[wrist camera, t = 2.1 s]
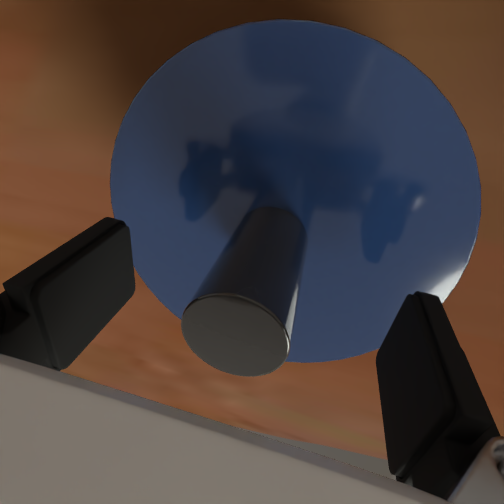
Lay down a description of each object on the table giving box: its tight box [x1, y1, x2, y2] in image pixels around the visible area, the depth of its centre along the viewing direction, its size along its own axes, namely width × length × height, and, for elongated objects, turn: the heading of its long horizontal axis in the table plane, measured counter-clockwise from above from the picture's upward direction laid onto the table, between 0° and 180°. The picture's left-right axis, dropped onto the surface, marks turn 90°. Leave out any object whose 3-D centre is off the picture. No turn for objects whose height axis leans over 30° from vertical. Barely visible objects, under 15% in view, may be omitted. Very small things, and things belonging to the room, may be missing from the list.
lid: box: [110, 19, 481, 376], centre depth 11 cm, size 15×15×7 cm
